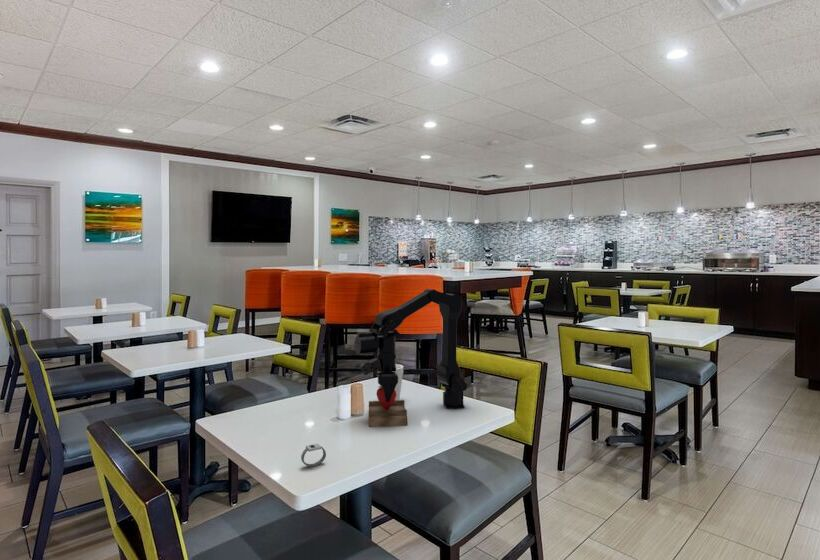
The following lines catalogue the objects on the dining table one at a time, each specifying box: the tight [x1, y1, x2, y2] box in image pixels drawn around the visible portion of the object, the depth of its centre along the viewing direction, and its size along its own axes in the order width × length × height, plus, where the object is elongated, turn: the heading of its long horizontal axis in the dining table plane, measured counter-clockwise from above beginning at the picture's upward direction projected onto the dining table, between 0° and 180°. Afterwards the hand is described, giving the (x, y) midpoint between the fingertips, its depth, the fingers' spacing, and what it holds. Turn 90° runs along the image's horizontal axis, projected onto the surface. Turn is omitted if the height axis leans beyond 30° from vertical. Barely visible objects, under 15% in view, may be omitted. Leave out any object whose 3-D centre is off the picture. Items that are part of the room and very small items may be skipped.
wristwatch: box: [300, 443, 327, 468], centre depth 119 cm, size 6×3×5 cm, turn 121°
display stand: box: [368, 399, 408, 428], centre depth 155 cm, size 12×16×4 cm
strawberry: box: [376, 385, 396, 410], centre depth 155 cm, size 6×8×10 cm
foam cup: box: [379, 363, 404, 400], centre depth 172 cm, size 10×9×13 cm
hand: (387, 398), depth 155 cm, fingers open, 7 cm apart
